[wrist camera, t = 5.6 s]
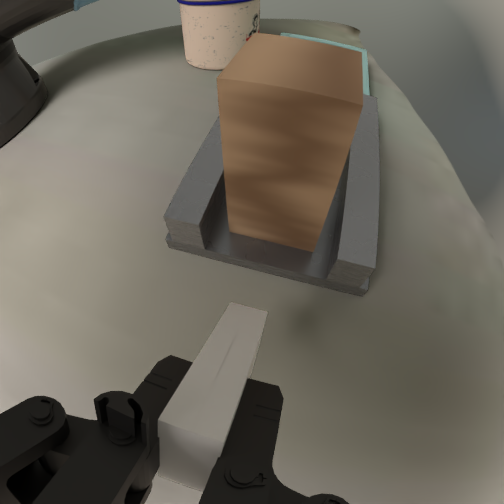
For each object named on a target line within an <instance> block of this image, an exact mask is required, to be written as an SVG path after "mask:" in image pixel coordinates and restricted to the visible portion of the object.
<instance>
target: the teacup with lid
mask: <svg viewBox="0 0 504 504" xmlns="http://www.w3.org/2000/svg"><path fill="white" fill-rule="evenodd" d="M177 1H178V2H179V3H180V13H181V22H182V31H183V39H184V48H185V56H186V60H187V62H188V63H189V64H191V65H192V66H194V67H197V68H201V69H208V70H224V68H225V67H226V66H227V65H228V63H229V62H230V61H231V60H232V59H233V57H234V56H235V55H236V54H237V53H238V51H239V50H240V49H241V48H242V47H243V45H244V44H245V43H246V42H247V41H248V40H249V38H250V37H251V36H252V35H253V34H254V33H259V20H260V0H177Z"/></svg>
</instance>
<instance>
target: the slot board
mask: <svg viewBox="0 0 504 504" xmlns="http://www.w3.org/2000/svg"><path fill="white" fill-rule="evenodd" d="M379 191H380V156H379V125H378V108H377V98H376V97H373V96H370V95H366V94H363V107H362V111H361V114H360V117H359V121H358V124H357V127H356V130H355V134H354V137H353V140H352V143H351V146H350V149H349V152H348V155H347V158H346V162H345V165H344V168H343V171H342V174H341V176H340V179H339V182H338V185H337V188H336V191H335V194H334V197H333V200H332V203H331V205H330V208H329V211H328V214H327V217H326V219H325V222H324V225H323V228H322V230H321V233H320V236H319V238H318V241H317V244H316V247H315V249H314V252H310V251H306V250H302V249H298V248H294V247H290V246H286V245H282V244H278V243H274V242H270V241H266V240H262V239H257V238H253V237H249V236H245V235H241V234H237V233H233V232H229V223H228V212H227V201H226V190H225V178H224V167H223V155H222V142H221V129H220V116H219V117H218V119H217V120H216V122H215V124H214V125H213V127H212V129H211V130H210V132H209V134H208V135H207V137H206V139H205V141H204V142H203V144H202V146H201V148H200V149H199V151H198V153H197V155H196V156H195V158H194V160H193V162H192V163H191V165H190V167H189V169H188V171H187V173H186V174H185V176H184V178H183V180H182V182H181V184H180V186H179V187H178V189H177V191H176V193H175V195H174V197H173V199H172V201H171V203H170V205H169V207H168V209H167V211H166V213H165V215H164V220H165V222H166V225H167V227H168V230H169V233H168V235H167V237H166V242H167V244H168V246H169V248H173V249H176V250H180V251H184V252H188V253H192V254H195V255H199V256H203V257H207V258H211V259H215V260H218V261H222V262H226V263H230V264H234V265H238V266H242V267H246V268H249V269H253V270H257V271H261V272H265V273H269V274H273V275H277V276H281V277H285V278H289V279H293V280H297V281H301V282H305V283H309V284H313V285H317V286H321V287H326V288H330V289H334V290H338V291H342V292H346V293H350V294H354V295H359V296H363V295H364V294H365V293H366V291H367V290H368V284H369V276H370V275H371V273H372V272H373V271H374V270H375V267H376V255H377V241H378V223H379Z"/></svg>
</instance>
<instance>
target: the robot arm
mask: <svg viewBox="0 0 504 504" xmlns="http://www.w3.org/2000/svg"><path fill="white" fill-rule="evenodd" d="M96 1H98V0H0V147H1V146H2V145H3V144H5V143H6V142H7V141H8V140H10V139H11V138H12V137H13V136H14V135H15V134H17V133H18V132H19V131H20V130H21V129H22V128H23V127H24V126H25V125H26V124H27V123H28V122H29V121H30V120H31V119H32V118H33V117H34V115H35V114H36V113H37V112H38V111H39V109H40V108H41V106H42V105H43V103H44V102H45V100H46V97H47V89H46V86H45V84H44V82H43V79H42V78H41V76H40V75H39V74H38V73H37V72H36V71H35V70H34V69H33V68H32V67H31V66H30V65H29V64H28V63H27V62H26V61H25V60H24V59H23V58H22V57H21V56H20V55H19V54H18V52H17V50H16V48H15V45H14V43H13V40H12V38H14V37H16V36H18V35H20V34H22V33H23V32H25V31H27V30H29V29H31V28H34V27H36V26H38V25H40V24H42V23H44V22H47V21H49V20H51V19H53V18H56V17H58V16H61V15H63V14H66V13H68V12H71V11H73V10H74V11H77V10H79V9H80V8H81V7H83V6H85V5H88V4H90V3H93V2H96ZM267 314H268V312H267V311H263V310H260V309H256V308H252V307H248V306H245V305H241V304H237V303H234V302H230V304H229V305H228V307H227V308H226V310H225V312H224V313H223V315H222V317H221V318H220V320H219V322H218V323H217V325H216V326H215V328H214V330H213V331H212V333H211V335H210V336H209V338H208V339H207V341H206V343H205V344H204V346H203V348H202V349H201V351H200V352H199V354H198V356H197V357H196V359H195V361H194V362H190V361H187V360H184V359H181V358H178V357H175V356H172V355H170V356H168V357H166V358H164V359H162V360H160V361H158V363H157V364H156V365H155V366H154V368H153V369H152V370H151V372H150V373H149V374H148V375H147V377H146V378H145V379H144V382H142V383H141V384H140V386H139V387H138V388H137V389H136V391H135V392H134V393H133V394H130V393H127V392H123V391H110V392H106V393H103V394H100V395H99V396H98V397H96V398H95V399H94V404H95V410H96V415H97V420H88V419H84V418H79V417H75V416H71V415H67V414H66V413H65V410H64V408H63V407H62V405H61V404H60V403H59V402H58V401H56V400H55V399H53V398H50V397H46V396H35V397H32V398H29V399H27V400H25V401H23V402H21V403H19V404H18V405H16V406H14V407H12V408H10V409H8V410H7V411H5V412H3V413H1V414H0V504H144V503H145V501H146V499H147V498H148V496H149V494H150V492H151V488H152V479H153V478H154V476H155V474H156V472H157V470H158V474H159V476H160V477H163V478H165V479H168V480H171V481H173V482H176V483H179V484H182V485H184V486H187V487H190V488H193V489H196V490H199V491H203V494H202V496H201V499H200V502H199V504H349V503H348V502H346V501H345V500H344V499H343V498H340V497H338V496H335V495H333V494H318V495H314V496H311V497H306V496H304V495H302V494H300V493H297V492H295V491H293V490H291V489H289V488H288V487H286V486H284V485H283V484H282V483H281V482H280V481H279V480H278V479H277V477H276V475H275V474H274V471H273V468H272V460H273V455H274V450H275V444H276V439H277V433H278V428H279V422H280V416H281V411H282V405H283V399H284V398H283V396H282V393H281V391H280V388H279V386H276V385H272V384H268V383H264V382H260V381H256V380H253V379H250V376H251V373H252V370H253V367H254V363H255V360H256V356H257V352H258V348H259V345H260V341H261V337H262V333H263V330H264V326H265V322H266V318H267Z"/></svg>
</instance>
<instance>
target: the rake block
mask: <svg viewBox="0 0 504 504" xmlns="http://www.w3.org/2000/svg"><path fill="white" fill-rule="evenodd" d="M217 88H218V103H219V116H220V129H221V142H222V155H223V167H224V178H225V190H226V201H227V212H228V223H229V232H233V233H237V234H241V235H245V236H249V237H253V238H257V239H262V240H266V241H270V242H274V243H278V244H282V245H286V246H290V247H294V248H298V249H302V250H306V251H310V252H314V249H315V247H316V244H317V241H318V238H319V236H320V233H321V230H322V228H323V225H324V222H325V219H326V217H327V214H328V211H329V208H330V205H331V203H332V200H333V197H334V194H335V191H336V188H337V185H338V182H339V179H340V176H341V174H342V171H343V168H344V165H345V162H346V158H347V155H348V152H349V149H350V146H351V143H352V140H353V137H354V134H355V130H356V127H357V124H358V121H359V117H360V114H361V111H362V107H363V68H362V52H359V51H355V50H351V49H347V48H343V47H339V46H335V45H330V44H326V43H321V42H316V41H310V40H305V39H299V38H293V37H287V36H280V35H272V34H264V33H254V34H253V35H252V36H251V37H250V38H249V40H248V41H247V42H246V43H245V44H244V45H243V47H242V48H241V49H240V50H239V51H238V53H237V54H236V55H235V56H234V57H233V59H232V60H231V61H230V62H229V63H228V65H227V66H226V67H225V68H224V70H223V71H222V72H221V73H220V75H219V76H218V77H217Z"/></svg>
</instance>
